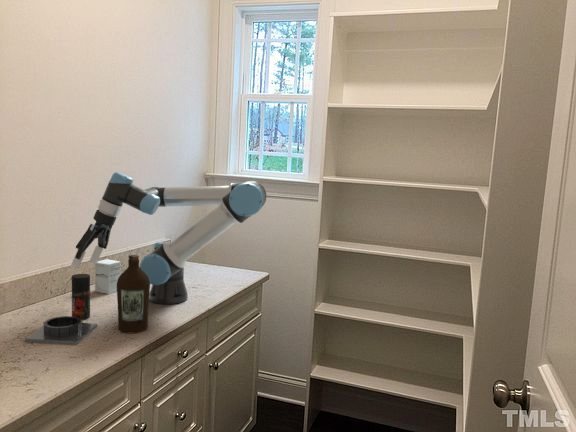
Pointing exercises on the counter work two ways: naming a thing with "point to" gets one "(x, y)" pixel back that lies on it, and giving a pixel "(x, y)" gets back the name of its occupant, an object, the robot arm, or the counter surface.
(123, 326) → the olive oil
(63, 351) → the counter surface
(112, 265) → the supplement box
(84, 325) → the duct flange
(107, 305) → the counter surface
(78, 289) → the deodorant
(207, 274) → the counter surface
